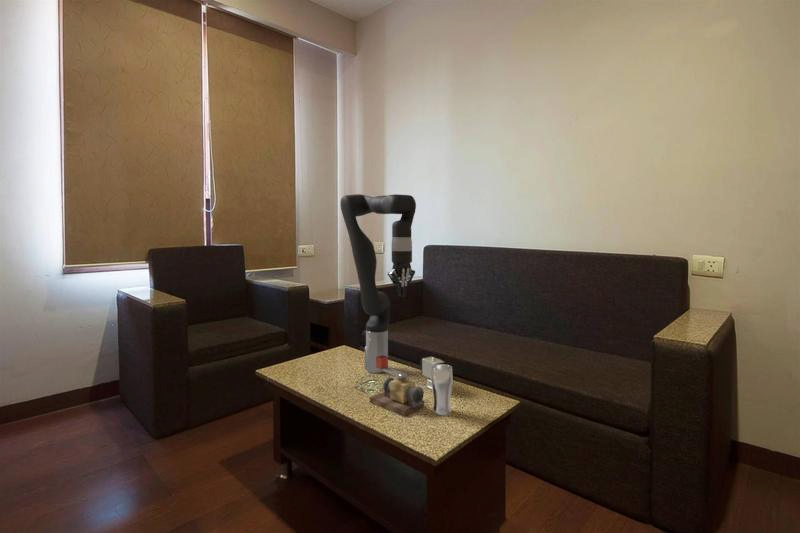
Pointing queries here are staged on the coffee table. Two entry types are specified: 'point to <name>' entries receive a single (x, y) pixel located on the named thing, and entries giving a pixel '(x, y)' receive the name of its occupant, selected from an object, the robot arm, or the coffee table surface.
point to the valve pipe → (399, 396)
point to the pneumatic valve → (429, 367)
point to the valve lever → (383, 365)
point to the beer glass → (441, 388)
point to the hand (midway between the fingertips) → (401, 296)
